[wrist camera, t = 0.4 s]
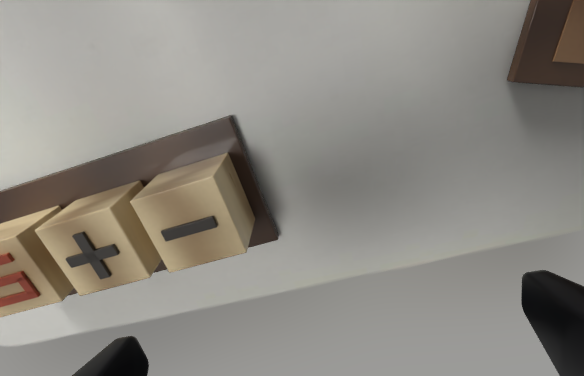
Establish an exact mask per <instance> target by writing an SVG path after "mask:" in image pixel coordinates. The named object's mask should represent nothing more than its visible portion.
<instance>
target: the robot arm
mask: <svg viewBox="0 0 584 376" xmlns="http://www.w3.org/2000/svg"><path fill="white" fill-rule="evenodd" d="M522 307H523V311H524V313H525V315H526V317H527V318H528V320H529V322H530V324H531V326H532V327H533V329H534V331H535V333H536V334H537V336H538V338H539V340H540V341H541V343H542V345H543V347H544V348H545V350H546V352H547V354H548V356H549V357H550V359H551V361H552V363H553V365H554V366H555V368H556V370H557V371H558V373H559V375H560V376H584V286H581V285H579V284H577V283H574V282H572V281H570V280H567V279H565V278H563V277H560V276H558V275H556V274H554V273H551V272H549V271H546V270H539V271H533V272H527V273H525V274H524V275H523V277H522ZM148 367H149V365H148V359H147V357H146V355H145V353H144V351H143V350H142V348H141V346H140V344H139V342H138V340H137V339H136V338H135V337H133V336H128V337H122V338H118V339H116V340H114V341H113V342H112V343H111V344H109V345H108V346H107V347H106V348H105V349H103V350H102V351H101V352H100V353H99V354H97V355H96V356H95V357H94V358H93V359H91V360H90V361H89V362H88V363H87V364H85V365H84V366H83V367H82V368H81V369H79V370H78V371H77V372H76V373H75V374H74V375H72V376H147V373H148Z"/></svg>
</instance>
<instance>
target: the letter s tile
mask: <svg viewBox="0 0 584 376" xmlns="http://www.w3.org/2000/svg"><path fill="white" fill-rule="evenodd" d="M60 211H62V209H61V207H60V206H55V207H52V208H49V209H46V210H43V211H39V212H36V213H33V214H30V215H27V216H23V217H20V218H17V219H14V220H11V221H7V222H4V223H1V224H0V317H3V316H7V315H11V314H15V313H19V312H22V311H26V310H30V309H34V308H37V307H41V306H45V305H49V304H53V303H56V302H60V301H63V300H64V298H65V297H66V296H67V295H68V294H69V293H70V292H71V291H72V290H73V289H74V287H73V285H72V284H71V282H70V281H69V279H68V278H67V277H66V275H65V274H64V272H63V271H62V269H61V268H60V267H59V265H58V264H57V262H56V261H55V259H54V258H53V256H52V255H51V254H50V252H49V251H48V249H47V248H46V246H45V245H44V244H43V242H42V241H41V239H40V238H39V236H38V235H37V234H36V232H35V230H36V229H37V228H38V227H40V226H41V225H42V224H44V223H45V222H47V221H48V220H49V219H51V218H52V217H53V216H55V215H56V214H58V213H59V212H60Z"/></svg>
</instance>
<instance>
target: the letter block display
mask: <svg viewBox="0 0 584 376" xmlns="http://www.w3.org/2000/svg"><path fill="white" fill-rule="evenodd" d="M507 81H510V82H518V83H531V84H545V85H558V86H571V87H584V0H531V2H530V5H529V8H528V12H527V15H526V18H525V21H524V25H523V28H522V31H521V35H520V38H519V41H518V45H517V48H516V51H515V55H514V58H513V61H512V65H511V68H510V71H509V75H508V78H507Z"/></svg>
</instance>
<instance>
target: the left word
mask: <svg viewBox="0 0 584 376" xmlns="http://www.w3.org/2000/svg"><path fill="white" fill-rule="evenodd" d="M55 206H60V207H61V209H62V211H60V212H59V213H58V214H56V215H55V216H53V217H52V218H51V219H49V220H48V221H47V222H45V223H44V224H42V225H41V226H40V227H38V228H37V229H36V230H35V232H36V234H37V235H38V236H39V238H40V239H41V241H42V242H43V244H44V245H45V246H46V248H47V249H48V251H49V252H50V254H51V255H52V256H53V258H54V259H55V261H56V262H57V264H58V265H59V267H60V268H61V269H62V271H63V272H64V274H65V275H66V277H67V278H68V279H69V281H70V282H71V284H72V285H73V287H74V289H73V290H72V291H71V292H70V293H69V294H68V295H72V294H76V293H78V294H79V295H80V296H82V295H86V294H90V293H94V292H97V291H101V290H105V289H109V288H112V287H116V286H120V285H124V284H128V283H131V282H135V281H139V280H143V279H147V278H150V277H151V276H152V274H153V273H155V272H158V271H162V270H166V269H168V271H169V272H174V271H178V270H182V269H186V268H189V267H193V266H197V265H201V264H205V263H208V262H212V261H216V260H220V259H223V258H227V257H231V256H235V255H239V254H242V253H246V252H247V249H248V248H249V247H252V246H256V245H260V244H264V243H267V242H271V241H275V240H277V239H278V233H277V230H276V228H275V225H274V223H273V220H272V218H271V215H270V213H269V210H268V208H267V205H266V202H265V200H264V197H263V195H262V192H261V190H260V187H259V185H258V182H257V179H256V177H255V174H254V172H253V169H252V167H251V164H250V162H249V159H248V157H247V154H246V151H245V149H244V146H243V144H242V141H241V139H240V136H239V134H238V131H237V129H236V126H235V123H234V121H233V118H232V116H227V117H224V118H221V119H218V120H215V121H212V122H209V123H206V124H203V125H200V126H196V127H193V128H190V129H187V130H184V131H181V132H178V133H175V134H172V135H169V136H166V137H163V138H160V139H157V140H154V141H151V142H148V143H145V144H142V145H139V146H136V147H133V148H130V149H127V150H124V151H120V152H117V153H114V154H111V155H108V156H105V157H102V158H99V159H96V160H93V161H90V162H87V163H84V164H81V165H78V166H75V167H72V168H69V169H66V170H63V171H60V172H57V173H54V174H51V175H48V176H44V177H41V178H38V179H35V180H32V181H29V182H26V183H23V184H20V185H17V186H14V187H11V188H8V189H5V190H2V191H0V224H1V223H4V222H7V221H11V220H14V219H17V218H20V217H23V216H27V215H30V214H33V213H36V212H39V211H43V210H46V209H49V208H52V207H55ZM68 295H67V296H68Z"/></svg>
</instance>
